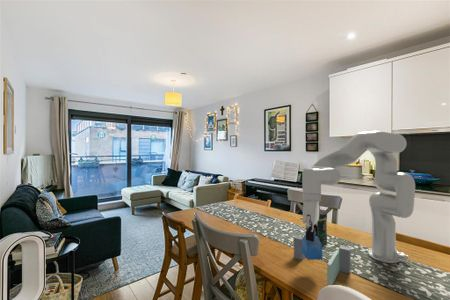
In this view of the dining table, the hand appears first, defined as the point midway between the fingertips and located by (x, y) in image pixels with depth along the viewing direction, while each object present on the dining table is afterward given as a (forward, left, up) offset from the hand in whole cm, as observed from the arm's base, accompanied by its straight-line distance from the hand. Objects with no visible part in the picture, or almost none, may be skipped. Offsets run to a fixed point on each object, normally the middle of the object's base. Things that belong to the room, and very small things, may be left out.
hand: (311, 237), depth 95 cm
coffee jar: (+4, -34, -15) cm, 37 cm away
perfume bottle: (0, 0, -8) cm, 8 cm away
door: (-9, 0, -15) cm, 17 cm away
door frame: (-2, -10, -15) cm, 18 cm away
